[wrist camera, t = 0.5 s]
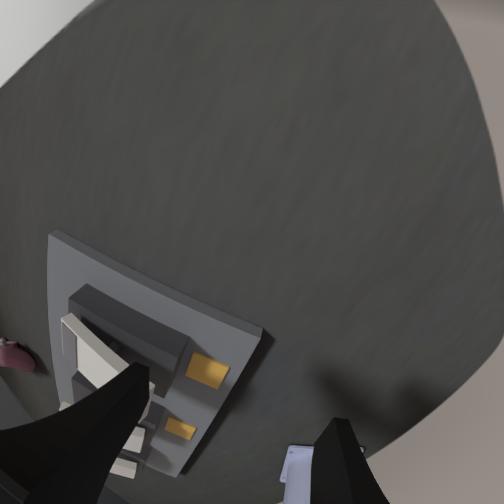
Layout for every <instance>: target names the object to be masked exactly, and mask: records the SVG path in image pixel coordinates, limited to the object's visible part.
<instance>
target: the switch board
mask: <svg viewBox="0 0 504 504" xmlns="http://www.w3.org/2000/svg"><path fill="white" fill-rule="evenodd" d="M47 292H48V316H49V330H50V341H51V350H52V358H53V365H54V372H55V378H56V384H57V390H58V395H59V400H60V405H61V404H62V401H63V402H66V403H68V404H71V405H73V404H74V403H76V402H78V401H79V400H81V399H83V398H84V397H86V396H88V395H89V394H91V393H93V392H94V391H95V390H97V389H98V388H96V387H95V386H94V385H93V384H92V383H91V382H90V381H89V380H88V379H87V378H86V377H85V376H84V375H83V374H82V373H81V372H80V371H79V370H78V369H77V368H75V367H74V366H73V365H72V364H71V363H70V362H69V360H68V359H67V358H66V357H65V356H64V355H63V346H62V329H61V318H62V317H64V316H66V315H68V314H70V313H72V314H73V315H74V316H75V317H76V318H77V319H78V320H79V321H80V322H81V323H83V324H84V325H85V326H86V327H87V328H88V329H89V330H90V331H91V332H92V333H93V334H94V335H95V336H96V337H97V338H99V339H100V340H101V341H102V342H103V343H104V344H105V345H106V346H108V347H109V348H110V349H111V350H112V351H113V352H114V353H116V354H117V355H118V356H119V357H120V358H122V359H123V360H124V361H125V362H126V363H128V364H129V365H130V364H132V363H133V362H138V363H140V364H143V365H145V366H148V367H149V381H150V382H152V383H153V384H154V385H155V388H154V391H153V395H152V399H151V403H150V406H149V410H148V414H147V416H146V417H145V418H144V419H143V420H142V421H141V422H140V423H138V424H137V426H136V427H140V428H143V429H145V433H144V439H143V443H142V447H141V451H140V453H137V452H134V451H130V450H126V449H123V448H122V450H121V452H120V453H119V455H118V457H117V458H120V459H123V460H127V461H131V462H134V463H137V466H136V471H138V472H140V473H141V472H142V470H143V468H144V466H145V465H147V466H149V467H151V468H154V469H156V470H158V471H160V472H163V473H165V474H168V475H170V476H173V477H175V478H176V477H177V475H178V474H179V472H180V471H181V469H182V468H183V466H184V465H185V463H186V462H187V460H188V459H189V457H190V455H191V454H192V452H193V451H194V449H195V448H196V446H197V445H198V443H199V441H200V440H201V438H202V437H203V435H204V433H205V432H206V430H207V429H208V427H209V425H210V424H211V422H212V421H213V419H214V417H215V416H216V414H217V412H218V411H219V409H220V408H221V406H222V404H223V403H224V401H225V399H226V398H227V396H228V394H229V393H230V391H231V389H232V388H233V386H234V384H235V382H236V381H237V379H238V377H239V376H240V374H241V372H242V370H243V369H244V367H245V365H246V364H247V362H248V360H249V358H250V357H251V355H252V353H253V351H254V350H255V348H256V346H257V344H258V343H259V341H260V339H261V335H262V331H263V328H261V327H259V326H256V325H254V324H252V323H249V322H247V321H244V320H242V319H240V318H237V317H235V316H233V315H230V314H228V313H226V312H223V311H221V310H219V309H217V308H214V307H212V306H210V305H208V304H205V303H203V302H201V301H199V300H197V299H194V298H192V297H190V296H188V295H186V294H184V293H181V292H179V291H177V290H175V289H173V288H171V287H169V286H167V285H164V284H162V283H160V282H158V281H156V280H154V279H152V278H150V277H148V276H146V275H144V274H142V273H140V272H138V271H136V270H134V269H132V268H130V267H128V266H126V265H124V264H122V263H120V262H118V261H116V260H114V259H112V258H110V257H108V256H107V255H105V254H103V253H101V252H99V251H97V250H95V249H93V248H92V247H90V246H88V245H86V244H84V243H82V242H80V241H79V240H77V239H75V238H73V237H71V236H70V235H68V234H66V233H64V232H63V231H61V230H59V229H57V230H55V231H53V232H51V233H49V237H48V261H47Z"/></svg>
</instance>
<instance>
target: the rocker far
mask: <svg viewBox="0 0 504 504" xmlns="http://www.w3.org/2000/svg"><path fill="white" fill-rule="evenodd" d="M136 466H137V463H134V462H131V461H127V460H123V459H120V458H116V460H115V462H114V464H113V466H112V468H111V470H110V472H111V473H114V474H118V475H121V476H125V477H129V478H133V479H134V476H135V472H136Z"/></svg>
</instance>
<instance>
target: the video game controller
mask: <svg viewBox="0 0 504 504" xmlns="http://www.w3.org/2000/svg"><path fill="white" fill-rule="evenodd" d="M17 347H18V346H17V342H15V341H6V339H5V338H1V336H0V366H3V367H11V368H15V369H18V370H21V371H23V372H32V371H33V370H34V369H35V361H34V360H33V358H32V357H31V356H30V355H29V354H28V353H27V352H25V351H23V350H21V349H19V348H17Z"/></svg>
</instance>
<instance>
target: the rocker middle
mask: <svg viewBox="0 0 504 504" xmlns="http://www.w3.org/2000/svg"><path fill="white" fill-rule="evenodd" d="M69 406H71V404H68V403H66V402H63V401H62V404H61V406H60V409H59V410H60V411H61V410H63V409H65V408H67V407H69ZM144 433H145V429H143V428H140V427H135V429H134V431H133V432H132V434H131V435H130V437H129V439H128V440H127V442H126V444H125V445H124V447H123V449H126V450H130V451H134V452H137V453H140V451H141V447H142V443H143V439H144Z"/></svg>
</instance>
